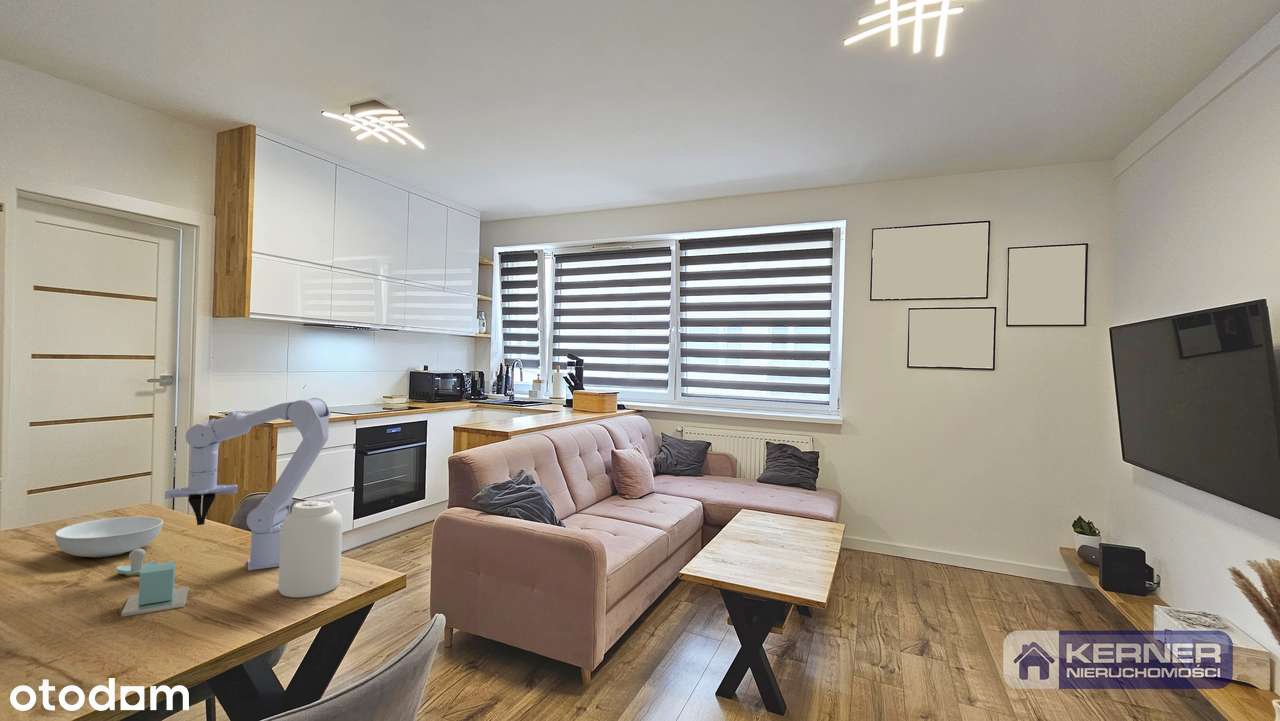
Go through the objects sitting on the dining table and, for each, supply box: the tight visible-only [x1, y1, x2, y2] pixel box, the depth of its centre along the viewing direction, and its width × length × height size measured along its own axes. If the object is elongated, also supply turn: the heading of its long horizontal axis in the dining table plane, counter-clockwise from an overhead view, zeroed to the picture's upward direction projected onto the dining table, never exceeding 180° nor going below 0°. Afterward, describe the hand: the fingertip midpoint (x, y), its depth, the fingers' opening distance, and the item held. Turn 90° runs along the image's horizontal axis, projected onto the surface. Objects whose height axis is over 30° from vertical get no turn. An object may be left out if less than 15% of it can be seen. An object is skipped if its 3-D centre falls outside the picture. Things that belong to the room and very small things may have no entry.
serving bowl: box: [54, 516, 164, 558], centre depth 150 cm, size 21×21×7 cm
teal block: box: [138, 560, 177, 605], centre depth 121 cm, size 5×5×7 cm
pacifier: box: [115, 548, 158, 577], centre depth 137 cm, size 7×6×6 cm
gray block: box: [120, 586, 190, 618], centre depth 121 cm, size 10×10×7 cm
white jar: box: [277, 499, 344, 598], centre depth 132 cm, size 12×12×20 cm
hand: (200, 524), depth 144 cm, fingers closed
